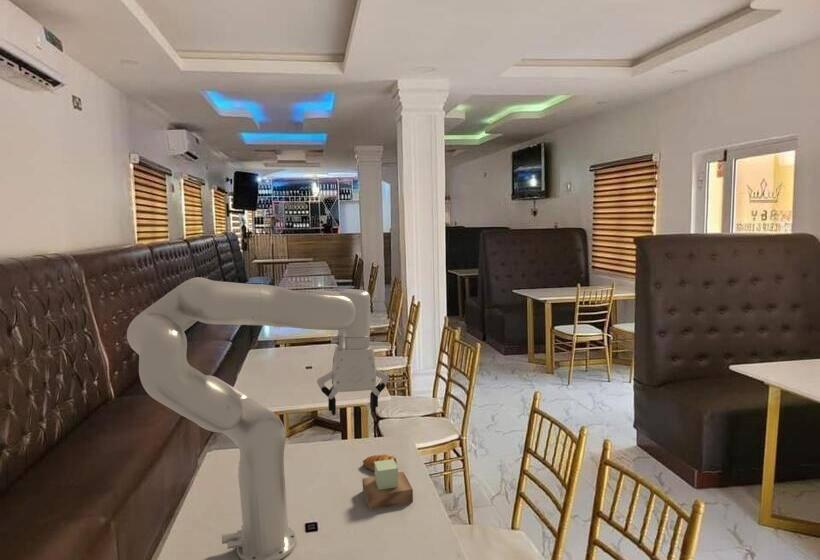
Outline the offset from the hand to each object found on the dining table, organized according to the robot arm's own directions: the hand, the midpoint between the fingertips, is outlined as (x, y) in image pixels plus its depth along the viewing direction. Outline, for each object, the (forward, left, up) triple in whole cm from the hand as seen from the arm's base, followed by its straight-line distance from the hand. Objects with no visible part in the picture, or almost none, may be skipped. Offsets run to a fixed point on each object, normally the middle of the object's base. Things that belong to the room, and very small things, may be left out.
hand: (353, 411), depth 130 cm
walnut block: (+8, +2, -25) cm, 26 cm away
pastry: (+10, +17, -25) cm, 32 cm away
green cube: (+8, +2, -21) cm, 23 cm away
